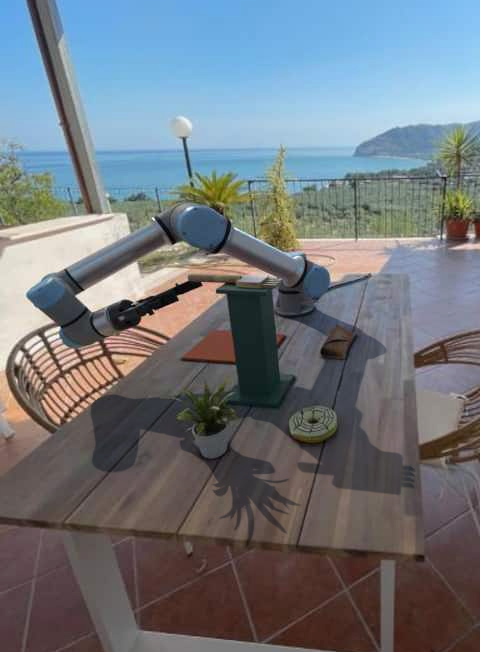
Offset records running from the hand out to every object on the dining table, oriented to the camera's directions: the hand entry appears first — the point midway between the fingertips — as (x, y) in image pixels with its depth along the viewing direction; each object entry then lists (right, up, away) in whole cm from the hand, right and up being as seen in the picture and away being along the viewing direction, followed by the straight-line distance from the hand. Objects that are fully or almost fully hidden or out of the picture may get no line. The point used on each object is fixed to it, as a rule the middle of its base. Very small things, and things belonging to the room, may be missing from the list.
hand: (188, 288), depth 98 cm
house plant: (+12, -35, -17) cm, 41 cm away
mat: (+3, -18, +27) cm, 33 cm away
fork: (+13, +1, -6) cm, 15 cm away
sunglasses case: (+37, -18, +28) cm, 50 cm away
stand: (+17, -27, +5) cm, 32 cm away
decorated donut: (+33, -33, -11) cm, 48 cm away
